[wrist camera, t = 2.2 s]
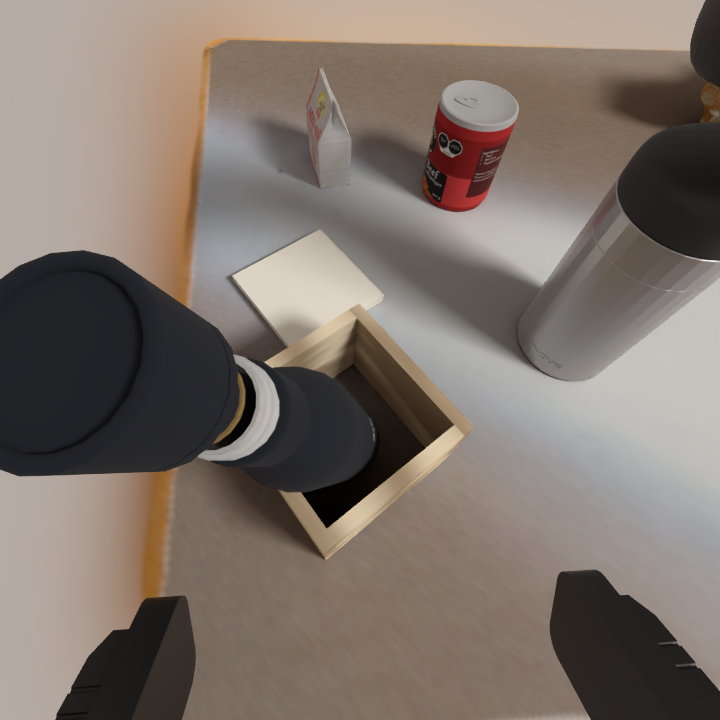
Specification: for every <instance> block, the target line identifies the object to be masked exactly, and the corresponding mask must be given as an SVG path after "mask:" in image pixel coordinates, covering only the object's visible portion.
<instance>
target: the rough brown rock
mask: <svg viewBox="0 0 720 720" xmlns="http://www.w3.org/2000/svg"><path fill="white" fill-rule="evenodd" d="M700 100H701V101H702V103H703V104H704V114H703V116H702V118H701V120H700V123H709V122H720V88H719V87H718V86H716V85H714V84H712V83H710V82H707V84H706V85H705V86H704V88H703V89H702V91H701V95H700Z"/></svg>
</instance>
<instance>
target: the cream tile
mask: <svg viewBox="0 0 720 720" xmlns="http://www.w3.org/2000/svg"><path fill="white" fill-rule="evenodd" d="M232 277H233V280H234V282H235V284H236V285H237V286H238V287H239V289H240V290H241V291H242V292H243V294H244V295H245V296H246V297H247V299H248V300H249V301H250V302H251V304H252V305H253V306H254V307H255V309H256V310H257V311H258V312H259V313H260V315H261V316H262V317H263V318H264V320H265V321H266V322H267V323H268V325H269V326H270V327H271V328H272V330H273V331H274V332H275V333H276V335H277V336H278V337H279V338H280V340H281V341H282V342H283V343H284V345H285V346H286V347H287V348H288V347H290V346H291V345H293V344H294V343H296V342H298V341H299V340H301V339H302V338H304V337H306V336H307V335H309V334H310V333H312V332H314V331H315V330H317V329H318V328H320V327H322V326H323V325H325V324H326V323H328V322H330V321H331V320H333V319H335V318H336V317H338V316H339V315H341V314H343V313H344V312H346V311H347V310H349V309H351V308H352V307H354V306H355V305H357V304H360V305H361V306H362V307H363V308H364V309H365V310H366V311H367V310H369V309H370V308H372V307H374V306H375V305H377V304H378V303H380V302H381V301H383V297H384V295H383V293H382V292H381V291H380V290H379V289H378V288H377V287H376V286H375V285H374V284H373V283H372V282H371V281H370V280H369V279H368V278H367V277H366V276H365V275H364V274H363V273H362V272H361V271H360V270H359V269H358V268H357V267H356V266H355V265H354V264H353V263H352V262H351V260H350V259H349V258H348V257H347V256H346V255H345V254H344V253H343V252H342V251H341V250H340V249H339V248H338V247H337V246H336V245H335V244H334V243H333V242H332V241H331V240H330V239H329V238H328V237H327V236H326V235H325V234H324V233H323V232H322V231H321V230H320V229H319V230H317V231H315V232H314V233H312V234H310V235H308V236H306V237H304V238H302V239H300V240H298V241H297V242H295V243H293V244H291V245H289V246H287V247H285V248H283V249H281V250H280V251H278V252H276V253H274V254H272V255H270V256H268V257H266V258H264V259H263V260H261V261H259V262H257V263H255V264H253V265H251V266H249V267H247V268H246V269H244V270H242V271H240V272H238V273H236V274H234V275H232Z"/></svg>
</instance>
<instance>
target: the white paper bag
mask: <svg viewBox="0 0 720 720" xmlns="http://www.w3.org/2000/svg"><path fill="white" fill-rule="evenodd" d="M306 109H307V124H308V140H309V153H310V156H311V160H312V163H313V166H314V169H315V173H316V176H317V179H318V183H319V186H320V189H321V188H328V187H335V186H343V185H350V169H351V137H350V135H349V132H348V129H347V127H346V124H345V121H344V119H343V116H342V113H341V111H340V108H339V105H338V103H337V101H336V99H335V97H334V95H333V93H332V91H331V89H330V87H329V84H328V82H327V79H326V76H325V74H324V71H323V68H322V71H321V69H320V68H318V75H317V78H316V82H315V85H314V88H313V90H312V93H311V95H310V98H309V101H308V103H307V106H306Z"/></svg>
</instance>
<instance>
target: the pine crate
mask: <svg viewBox="0 0 720 720" xmlns="http://www.w3.org/2000/svg"><path fill="white" fill-rule="evenodd" d="M264 363H266V364H267V365H269V366H270V367H272V368H274V367H289V366H295V367H303V368H308V369H311V370H315V371H319V372H322V373H325V374H327V375H328V376H330V377H331V378H334V377H335V376H337V375H338V374H340V373H341V372H343V371H344V370H346V369H347V368H348V367H350V366H351V365H354V366H355V367H356V368H357V369H358V370H359V372H360V373H361V374H362V375H363V376H364V377H365V379H366V380H367V381H368V382H369V383H370V384H371V386H372V387H373V388H374V389H375V390H376V391H377V393H378V394H379V395H380V396H381V397H382V398H383V399H384V401H385V402H386V403H387V404H388V405H389V406H390V408H391V409H392V410H393V411H394V412H395V413H396V415H397V416H398V417H399V418H400V419H401V420H402V422H403V423H404V424H405V425H406V426H407V427H408V429H409V430H410V431H411V432H412V433H413V434H414V436H415V437H416V438H417V439H418V440H419V441H420V442H421V444H422V445H423V446H424V447H425V449H424V450H423V451H422V452H420V453H419V454H418V455H417V456H415V457H414V458H413V459H412V460H411V461H409V462H408V463H407V464H406V465H404V466H403V467H402V468H401V469H400V470H398V471H397V472H396V473H395V474H393V475H392V476H391V477H390V478H389V479H387V480H386V481H385V482H384V483H382V484H381V485H380V486H379V487H377V488H376V489H375V490H374V491H373V492H371V493H370V494H369V495H368V496H366V497H365V498H364V499H363V500H362V501H360V502H359V503H358V504H357V505H355V506H354V507H353V508H352V509H350V510H349V511H348V512H347V513H346V514H344V515H343V516H342V517H341V518H339V519H338V520H337V521H336V522H335V523H333V524H332V525H331V526H330V527H328V528H327V529H326V527H325V526H324V524H323V523H322V522H321V520H320V519H319V517H318V516H317V514H316V513H315V512H314V510H313V509H312V507H311V506H310V505H309V503H308V502H307V500H306V499H305V497H304V496H303V495H302V493H301V492H291V493H287V492H284V491H281V490H278V491H279V492H280V494H281V495H282V497H283V498H284V500H285V501H286V503H287V504H288V506H289V507H290V509H291V510H292V511H293V513H294V514H295V516H296V517H297V519H298V520H299V522H300V523H301V525H302V526H303V528H304V529H305V531H306V532H307V533H308V535H309V536H310V538H311V539H312V541H313V542H314V544H315V545H316V547H317V548H318V550H319V551H320V553H321V554H322V555H323V557H324V558H325V560H327V559H328V558H329V557H330V556H331V555H333V554H334V553H335V552H336V551H337V550H338V549H340V548H341V547H342V546H343V545H344V544H346V543H347V542H348V541H349V540H350V539H352V538H353V537H354V536H355V535H356V534H357V533H359V532H360V531H361V530H362V529H363V528H365V527H366V526H367V525H368V524H369V523H370V522H372V521H373V520H374V519H375V518H376V517H378V516H379V515H380V514H381V513H382V512H383V511H385V510H386V509H387V508H388V507H389V506H391V505H392V504H393V503H394V502H395V501H397V500H398V499H399V498H400V497H401V496H402V495H404V494H405V493H406V492H407V491H408V490H410V489H411V488H412V487H413V486H414V485H415V484H417V483H418V482H419V481H420V480H421V479H423V478H424V477H425V476H426V475H427V474H429V473H430V472H431V471H432V470H433V469H434V468H436V467H437V466H438V465H439V464H440V463H442V462H443V461H444V460H445V459H446V458H447V457H448V456H449V455H450V454H451V453H452V452H453V451H454V450H455V449H456V448H457V446H458V445H459V444H460V443H461V442H462V441H463V440H464V439H465V438H466V436H467V435H468V434H469V433H470V432H471V431H472V430H473V429H474V426H473V425H472V424H471V423H470V422H469V421H468V420H467V419H466V418H465V417H464V415H463V414H462V413H461V412H460V411H459V410H458V409H457V408H456V407H455V406H454V405H453V404H452V403H451V402H450V400H449V399H448V398H447V397H446V396H445V395H444V394H443V393H442V392H441V391H440V390H439V389H438V388H437V386H436V385H435V384H434V383H433V382H432V381H431V380H430V379H429V378H428V377H427V376H426V375H425V374H424V372H423V371H422V370H421V369H420V368H419V367H418V366H417V365H416V364H415V363H414V362H413V361H412V360H411V359H410V357H409V356H408V355H407V354H406V353H405V352H404V351H403V350H402V349H401V348H400V347H399V346H398V345H397V343H396V342H395V341H394V340H393V339H392V338H391V337H390V336H389V335H388V334H387V333H386V332H385V331H384V329H383V328H382V327H381V326H380V325H379V324H378V323H377V322H376V321H375V320H374V319H373V318H372V317H371V316H370V314H369V313H368V312H367V311H366V310H365V309H364V308H363V307H362V306H361V305H360V304H357V305H355V306H354V307H352V308H351V309H349V310H347V311H346V312H344V313H343V314H341V315H339V316H338V317H336V318H335V319H333V320H331V321H330V322H328V323H326V324H325V325H323V326H322V327H320V328H318V329H317V330H315V331H314V332H312V333H310V334H309V335H307V336H306V337H304V338H302V339H301V340H299V341H298V342H296V343H294V344H293V345H291V346H290V347H288V348H286V349H285V350H283V351H281V352H280V353H278V354H277V355H275V356H273V357H272V358H270V359H269V360H267V361H265V362H264Z"/></svg>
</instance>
